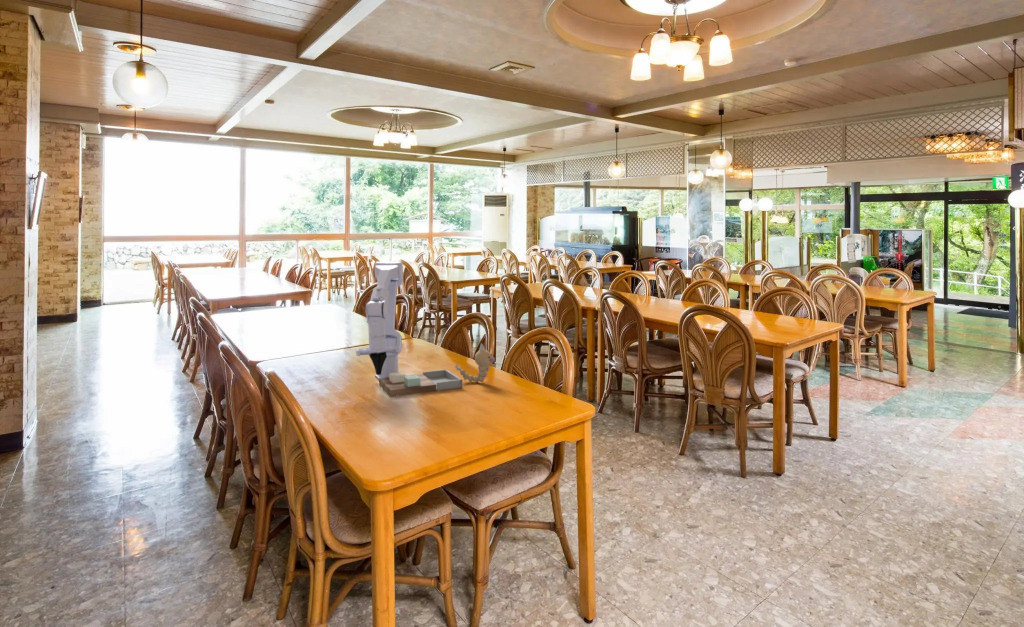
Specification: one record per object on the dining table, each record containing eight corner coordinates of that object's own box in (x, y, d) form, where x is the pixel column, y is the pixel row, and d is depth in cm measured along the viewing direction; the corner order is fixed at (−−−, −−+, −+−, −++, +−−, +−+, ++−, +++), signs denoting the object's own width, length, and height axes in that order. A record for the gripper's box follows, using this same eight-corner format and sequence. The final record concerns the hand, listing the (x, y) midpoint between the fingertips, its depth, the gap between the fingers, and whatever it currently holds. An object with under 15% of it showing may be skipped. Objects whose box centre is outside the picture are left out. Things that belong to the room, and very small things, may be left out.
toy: (493, 385, 210) (492, 344, 208) (453, 383, 213) (452, 343, 211) (496, 381, 216) (496, 341, 214) (458, 379, 219) (457, 339, 217)
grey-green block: (404, 383, 203) (404, 376, 203) (416, 382, 205) (416, 375, 205) (407, 386, 199) (407, 379, 199) (420, 385, 201) (420, 378, 201)
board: (379, 384, 211) (378, 378, 211) (421, 379, 218) (421, 373, 218) (390, 396, 196) (390, 390, 196) (436, 391, 203) (436, 384, 202)
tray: (423, 379, 218) (422, 371, 218) (446, 376, 222) (446, 369, 222) (437, 391, 203) (437, 382, 202) (462, 388, 207) (462, 379, 206)
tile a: (389, 380, 208) (389, 373, 208) (401, 378, 210) (401, 371, 210) (392, 383, 204) (392, 375, 204) (405, 381, 206) (404, 374, 206)
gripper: (358, 339, 195) (359, 379, 197) (400, 336, 201) (401, 374, 203) (354, 336, 201) (355, 374, 203) (395, 332, 208) (396, 370, 210)
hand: (378, 374), depth 204 cm, fingers closed
